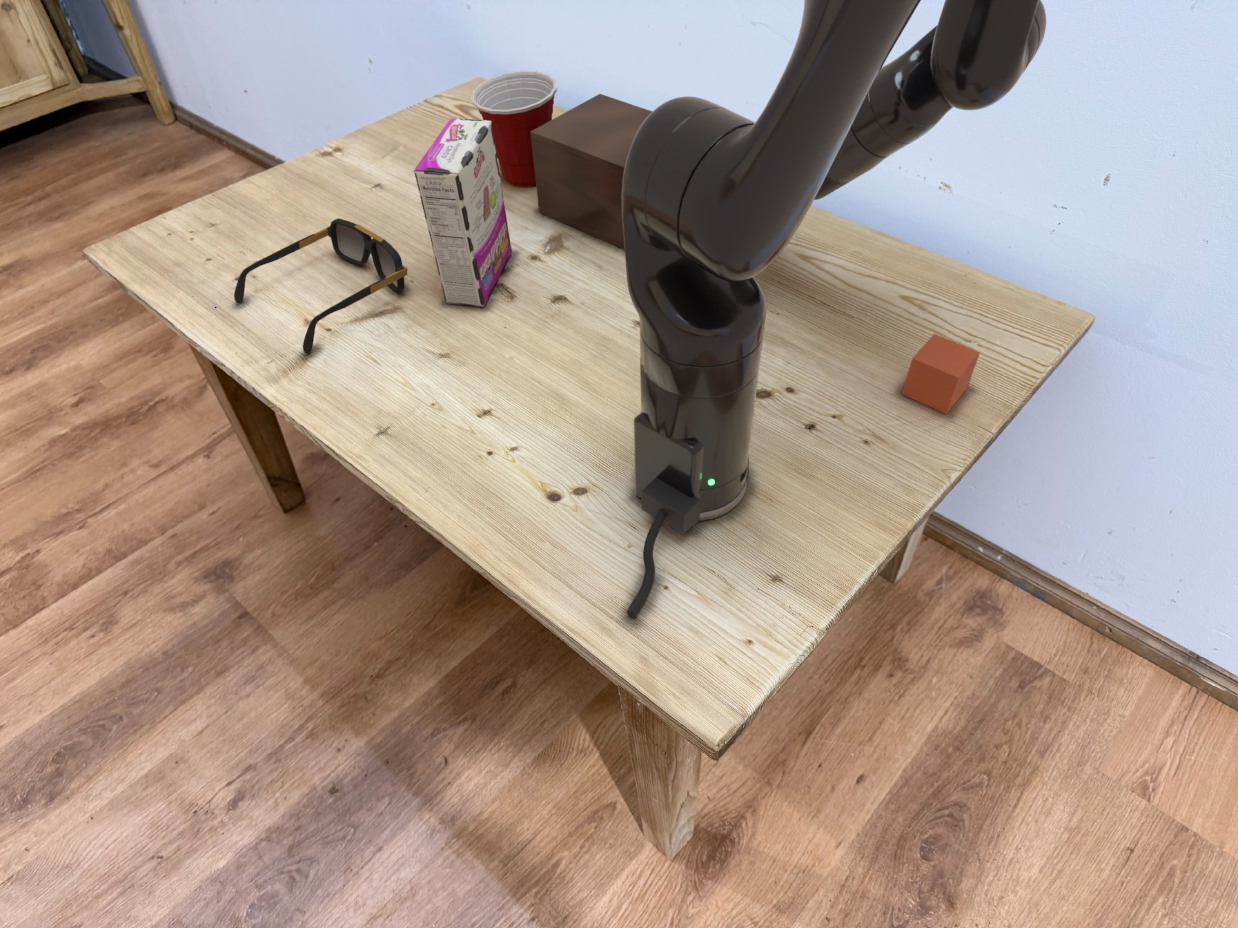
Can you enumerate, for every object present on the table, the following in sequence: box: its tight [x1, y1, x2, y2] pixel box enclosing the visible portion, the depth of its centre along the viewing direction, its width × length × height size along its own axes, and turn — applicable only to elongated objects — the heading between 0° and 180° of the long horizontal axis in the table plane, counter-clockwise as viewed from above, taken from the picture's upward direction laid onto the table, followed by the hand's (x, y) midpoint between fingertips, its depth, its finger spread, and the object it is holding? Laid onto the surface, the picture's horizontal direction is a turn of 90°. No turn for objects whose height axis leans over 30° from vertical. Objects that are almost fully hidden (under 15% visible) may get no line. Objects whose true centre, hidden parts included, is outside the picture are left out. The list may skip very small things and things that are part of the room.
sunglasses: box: [233, 218, 408, 355], centre depth 94 cm, size 14×15×5 cm
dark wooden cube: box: [531, 93, 654, 251], centre depth 103 cm, size 15×13×11 cm
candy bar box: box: [413, 117, 513, 308], centre depth 92 cm, size 11×5×16 cm, turn 168°
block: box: [901, 333, 981, 415], centre depth 81 cm, size 5×5×5 cm
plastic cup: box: [471, 70, 558, 188], centre depth 109 cm, size 11×11×12 cm
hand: (726, 215), depth 96 cm, fingers closed on drawer, 5 cm apart
